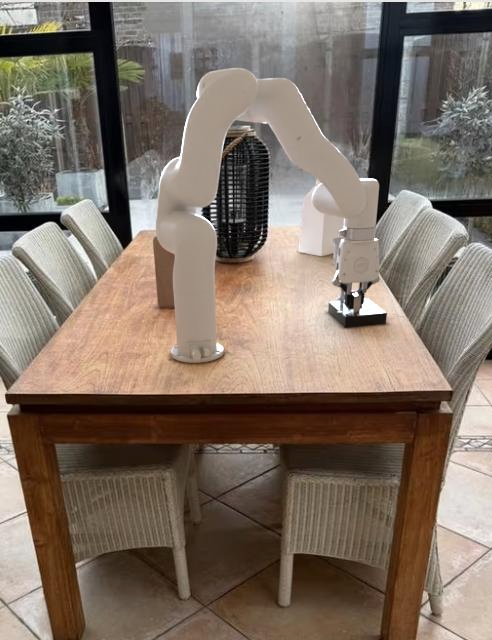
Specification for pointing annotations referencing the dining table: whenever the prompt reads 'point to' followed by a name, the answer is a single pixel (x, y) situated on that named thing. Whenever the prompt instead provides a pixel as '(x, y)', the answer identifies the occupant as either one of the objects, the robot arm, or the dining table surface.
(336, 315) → the black knob base
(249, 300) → the dining table surface
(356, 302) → the box with red tab
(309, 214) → the milk
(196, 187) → the robot arm
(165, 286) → the block
